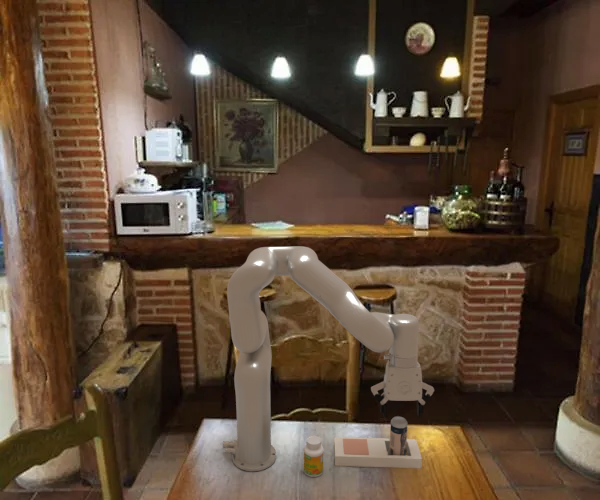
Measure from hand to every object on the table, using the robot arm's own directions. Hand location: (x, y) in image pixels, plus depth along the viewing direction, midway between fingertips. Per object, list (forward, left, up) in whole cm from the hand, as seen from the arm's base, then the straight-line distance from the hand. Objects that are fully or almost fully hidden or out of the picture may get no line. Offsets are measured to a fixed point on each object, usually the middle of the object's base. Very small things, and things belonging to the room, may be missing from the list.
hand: (401, 415), depth 136 cm
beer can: (-1, 0, -14) cm, 14 cm away
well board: (-7, 0, -14) cm, 15 cm away
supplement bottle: (-25, -7, -14) cm, 29 cm away
